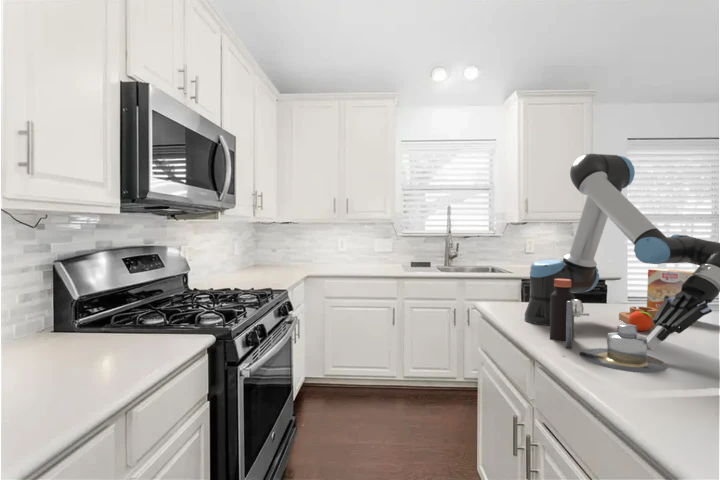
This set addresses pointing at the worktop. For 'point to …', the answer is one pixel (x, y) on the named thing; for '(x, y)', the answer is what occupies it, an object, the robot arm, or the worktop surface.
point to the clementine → (640, 320)
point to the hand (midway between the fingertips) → (647, 346)
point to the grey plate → (601, 359)
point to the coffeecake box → (664, 285)
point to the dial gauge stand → (574, 310)
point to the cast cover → (627, 345)
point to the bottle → (560, 309)
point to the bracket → (625, 315)
